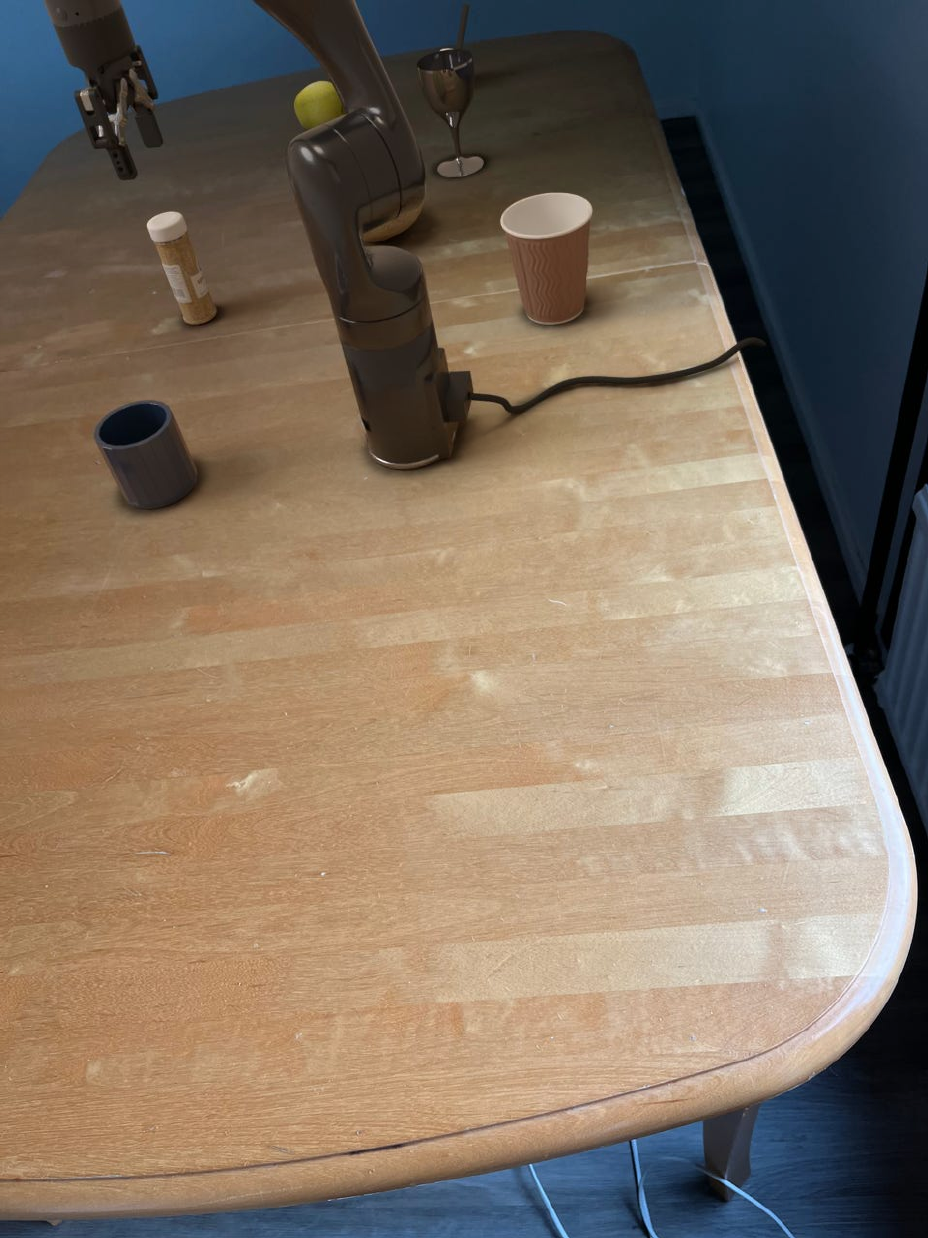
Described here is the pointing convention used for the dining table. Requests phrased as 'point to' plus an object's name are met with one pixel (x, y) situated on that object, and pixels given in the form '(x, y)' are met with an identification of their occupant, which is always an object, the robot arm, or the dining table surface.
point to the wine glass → (450, 100)
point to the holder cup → (146, 454)
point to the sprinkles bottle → (182, 267)
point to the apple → (318, 105)
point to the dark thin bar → (462, 26)
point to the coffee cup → (550, 254)
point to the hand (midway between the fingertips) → (142, 161)
